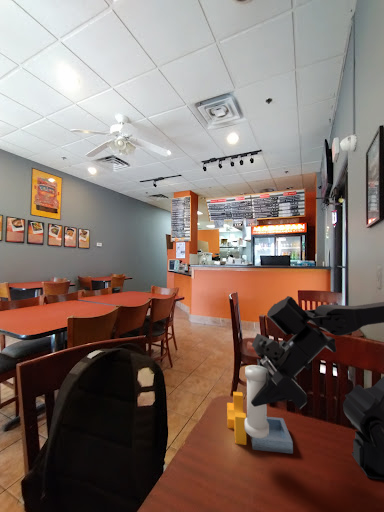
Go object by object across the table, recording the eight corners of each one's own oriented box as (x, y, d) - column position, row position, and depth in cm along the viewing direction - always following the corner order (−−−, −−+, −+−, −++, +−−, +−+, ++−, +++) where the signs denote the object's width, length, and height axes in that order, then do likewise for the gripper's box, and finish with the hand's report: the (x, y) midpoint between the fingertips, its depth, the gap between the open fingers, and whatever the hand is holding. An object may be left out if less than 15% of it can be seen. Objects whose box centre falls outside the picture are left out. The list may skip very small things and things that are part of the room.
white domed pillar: (266, 423, 55) (266, 365, 56) (271, 439, 50) (270, 375, 50) (243, 421, 56) (243, 364, 56) (245, 436, 50) (245, 373, 51)
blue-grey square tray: (283, 427, 64) (282, 418, 64) (292, 453, 55) (292, 442, 55) (248, 424, 65) (248, 415, 65) (252, 449, 56) (252, 438, 56)
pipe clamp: (227, 413, 70) (227, 391, 70) (242, 415, 69) (242, 392, 70) (228, 443, 58) (228, 416, 58) (246, 445, 57) (246, 417, 58)
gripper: (263, 315, 63) (221, 356, 63) (289, 334, 44) (229, 393, 44) (294, 346, 62) (251, 388, 62) (333, 379, 44) (272, 439, 44)
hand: (250, 398), depth 53 cm, fingers closed on white domed pillar, 4 cm apart
